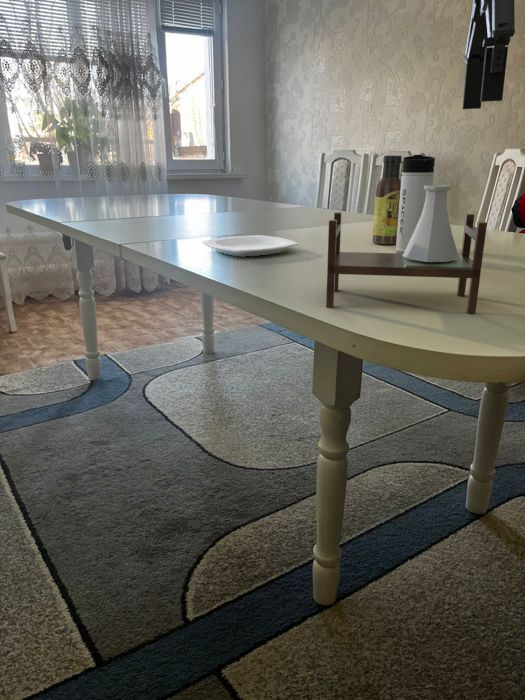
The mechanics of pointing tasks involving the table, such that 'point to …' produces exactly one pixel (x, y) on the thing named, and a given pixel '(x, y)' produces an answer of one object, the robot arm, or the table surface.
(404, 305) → the table surface
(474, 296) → the rack
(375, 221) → the sauce bottle
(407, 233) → the travel mug
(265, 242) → the plate
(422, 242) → the flask
